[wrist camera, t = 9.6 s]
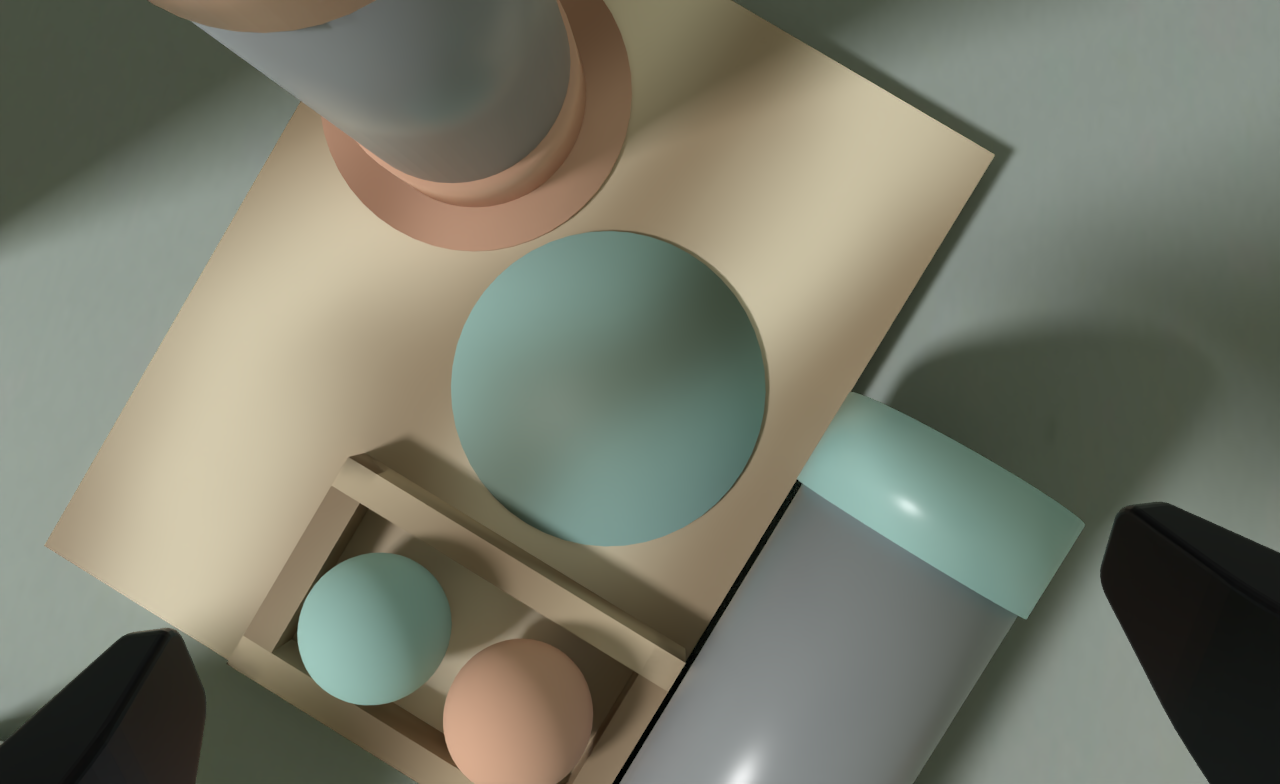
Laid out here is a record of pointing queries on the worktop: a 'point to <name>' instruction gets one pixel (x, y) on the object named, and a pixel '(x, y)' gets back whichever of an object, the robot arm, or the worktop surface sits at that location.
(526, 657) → the ball terracotta
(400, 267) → the board
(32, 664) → the worktop surface
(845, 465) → the tube teal
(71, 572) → the worktop surface
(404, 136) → the tube terracotta
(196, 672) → the robot arm
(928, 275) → the worktop surface
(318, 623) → the ball teal
